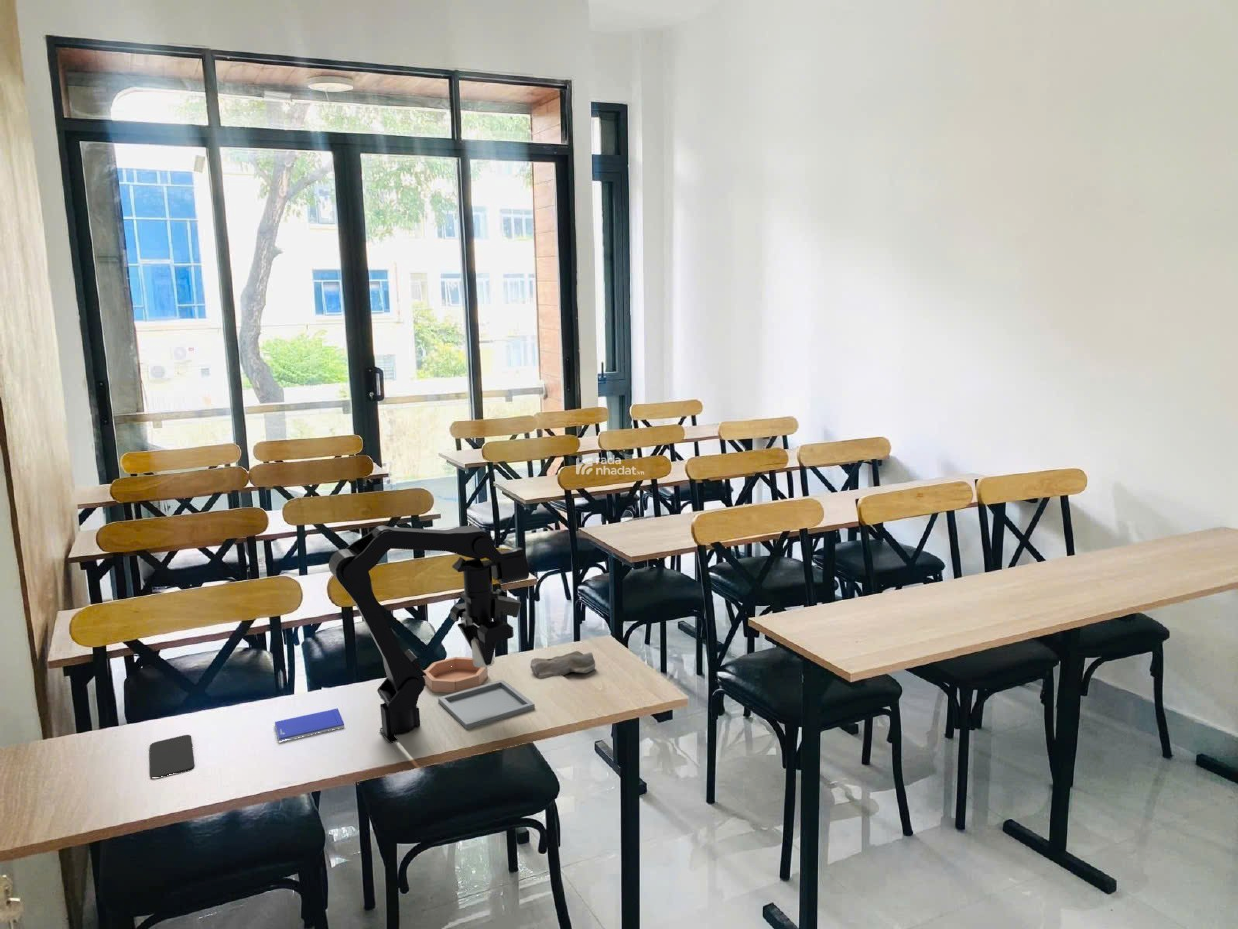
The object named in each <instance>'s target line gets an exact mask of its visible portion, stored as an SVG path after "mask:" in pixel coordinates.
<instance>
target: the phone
mask: <svg viewBox="0 0 1238 929" xmlns="http://www.w3.org/2000/svg"><path fill="white" fill-rule="evenodd" d="M192 740H193V739H192V736H191V735H190V734H184V735H180V736H174V737H171V738H167V739H161V740H157V741H155V742H152V743H151V744H150V745H149V776H150V778H151V777H161V776H166V777H168V776H167V775H169V774H173V773H178V774H181V772H182V773H185V771H186V772H188V770H189V771H192V770H193V769H194V768H195V757H194V750H193V748H194V746H193V745H194V744H193V741H192ZM192 747H193V748H192Z"/></svg>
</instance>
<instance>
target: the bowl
mask: <svg viewBox="0 0 1238 929" xmlns="http://www.w3.org/2000/svg"><path fill="white" fill-rule="evenodd" d="M451 666H452V667H451ZM423 671H424V672H425V673H426V676H423V677H424V679H425V686H426V687H427V688H428V689H429V690H430V691H432V693H433V692H434V693H435V692H436V693H437V692H438V693H447V694H449V693H450V694H453V693H456V692H460V691H464V690H467V689H471V688H474V687H478V686H482V685H483V683H484V682H485V680H486V679H488V677H489V675H488V674H489V673H488V667H485V668H478V667H475V666H473V658H472V657H464V656H463V657H462V656H461V657H460V656H455V657H454V656H453V657H451V658H446V659H442V660H438V661H434V662H432V663H431V664H430V665H429V666H428V667H427V668H426V669H425V670H423Z"/></svg>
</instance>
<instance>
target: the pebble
mask: <svg viewBox="0 0 1238 929" xmlns="http://www.w3.org/2000/svg"><path fill="white" fill-rule="evenodd" d="M471 643H472V649H471V653H472V654H471V655H472V656H471V658H473V666H475V667H478V668H485V667H487V668H488V667H489V668H490V667H492V666H494V664H495V653H494V654H493V658H492V662H491V664H490V665H485V663H484V661H483V658H482V656H481V654H480V651H479V649H478V647H477V644H476V642H475V640H474V639H473V640H472V641H471Z"/></svg>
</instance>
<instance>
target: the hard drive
mask: <svg viewBox="0 0 1238 929" xmlns="http://www.w3.org/2000/svg"><path fill="white" fill-rule="evenodd" d="M275 727H276V728H275ZM342 727H344V728H345V723H344V720H343V718H342V715H341V714H340V710H339V708H332V709H329V710H325V711H319V712H314V713H310V714H305V715H301V716H300V715H299V716H295V717H291V718H286V719H283V720H282V719H281V720H277V721H274V728H275V732H276V731H277V732H276V735H277V739H279V740H278V742H279V741H282V740H285V739H294V738H298V737H302V736H307V737H309V736H308V735H311V734H315V733H318V732H324V731H328V730H332V729H337V730H339V729H338V728H341V729H343V728H342ZM332 731H333V730H332ZM328 732H329V731H328ZM324 733H325V732H324ZM315 735H316V734H315ZM311 736H312V735H311ZM302 738H303V737H302ZM298 739H299V738H298ZM294 740H295V739H294Z"/></svg>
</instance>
